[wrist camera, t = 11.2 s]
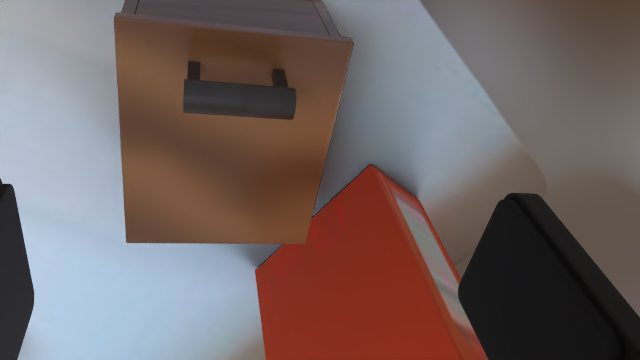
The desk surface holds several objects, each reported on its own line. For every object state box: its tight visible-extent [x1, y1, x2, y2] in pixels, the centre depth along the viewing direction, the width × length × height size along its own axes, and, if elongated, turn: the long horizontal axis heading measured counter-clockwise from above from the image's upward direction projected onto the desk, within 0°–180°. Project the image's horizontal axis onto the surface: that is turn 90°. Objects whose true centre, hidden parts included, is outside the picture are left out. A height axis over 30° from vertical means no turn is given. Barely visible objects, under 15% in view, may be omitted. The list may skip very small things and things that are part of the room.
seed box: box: [121, 0, 341, 37], centre depth 40 cm, size 17×14×9 cm
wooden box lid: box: [114, 12, 354, 244], centre depth 34 cm, size 17×14×5 cm
